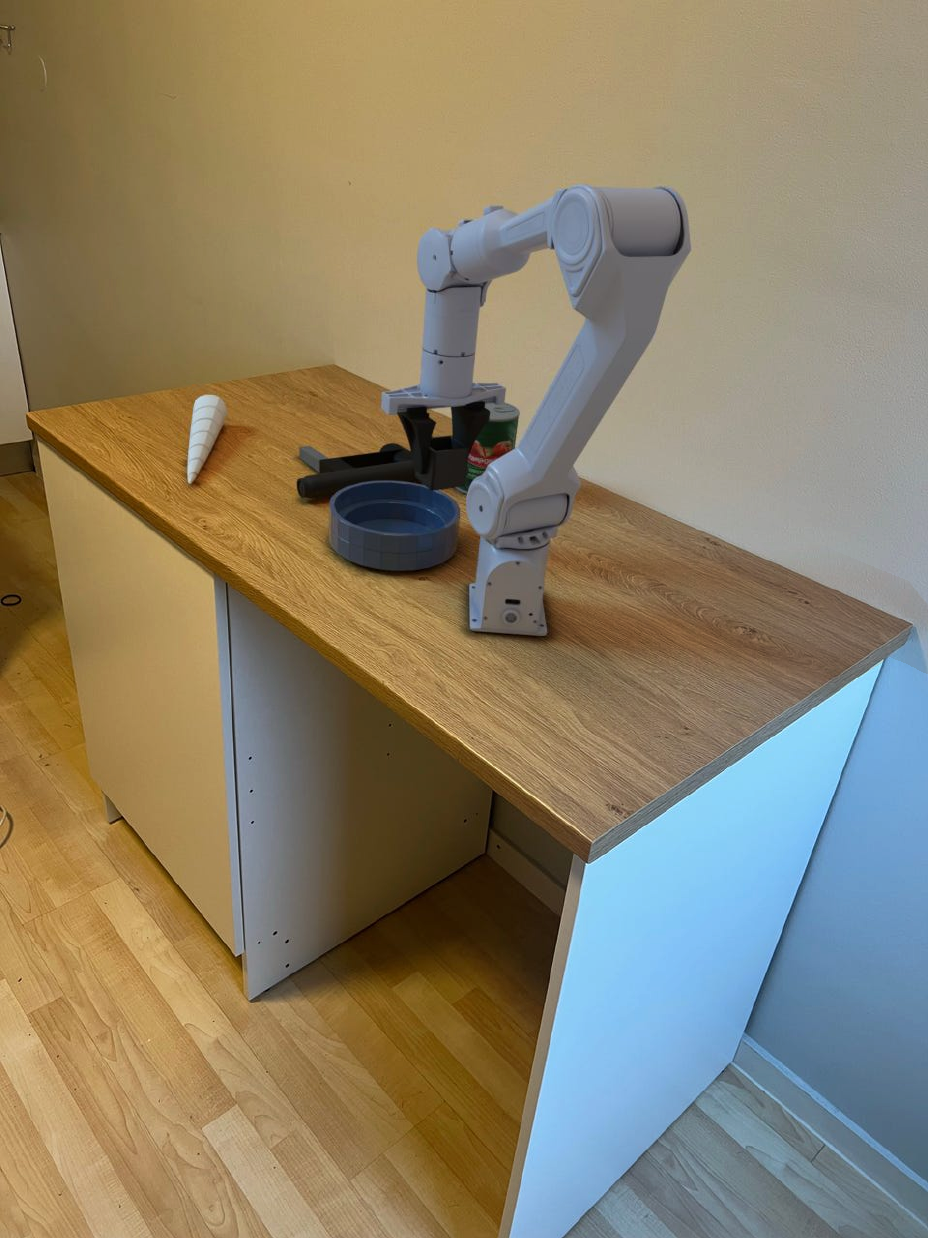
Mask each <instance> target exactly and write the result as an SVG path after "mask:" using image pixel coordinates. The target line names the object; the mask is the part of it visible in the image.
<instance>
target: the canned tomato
mask: <svg viewBox="0 0 928 1238" xmlns="http://www.w3.org/2000/svg"><path fill="white" fill-rule="evenodd" d="M485 408H486V409H488V410H489V411H490V419H489V421H488V422H487V424H486V425H485V426H484V427H483V429H482V430H481V432H480V433H479V435H478V437H477V439H476V440H475V442H474V445H473V447H472V449H471V451H470V454H469V457H468V463H467V473H466V484H465V486H462V487H455V489H456V490H457V491H458V492H460V493H462V494H465V495H467V493H468V490H469V487H470V484H471V483H472V481H473V480H474V479H475V478H477V477H479V476H481V475H483V473H484V472H485V471H486V469H487V467H488V465H489V464H490V463H492V462H493V461H495V460H497V459H498V458H500V457H502V456H503V455H505V454H507V453H508V452H510V451H512V450H513V449H515V448H516V443H517V442H516V441H517V434H518V427H519V418H520V414H521V412H520V409H519V408H518V407H516V406H515V405H513V404H511V403H508V402H504V404H502V405H496V404H494V403H489V404H485Z"/></svg>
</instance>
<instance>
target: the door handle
mask: <svg viewBox="0 0 928 1238" xmlns="http://www.w3.org/2000/svg"><path fill="white" fill-rule="evenodd" d="M298 450H299V451H298V452H299V453H298V455H299V459H300V460H301V461H303V462H304V463H305V464H307V465H308V466H309V467H310V468H312V469H314V470H315V471H316V472H317V473H315V474H308V475H305V476H303V477H299V478H297V479H296V491H297V494H298V496H299V497H300V498H301V499H305V498H306V499H309V500H310V499H311V500H314V499H320V498H324V497H332V496H333V495H334V494H335V493H337V492H338V491H340V490H342V489H343V488H345V487H348V486H351V485H354V484H358V483H362V482H370V481H403V482H411V483H421V482H420V481H419V480H418V479H417V478H416V477H415V469H413V462H412V456H411V451H410V450H409V449H408V448H406V447H404V446H402V445H401V444H399V443H395V442H389V443H386V444H383V446H381V447H380V449H379V451H375V452H367V453H360V454H353V455H352V454H351V455H346V456H338V457H337V456H336V457H330V458H329V457H328V456H326V455H325V454H324V453H321V452H320V451H318V450H317V449H316V448H314V447H313V446H311V445H303V446H299V447H298Z"/></svg>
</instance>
